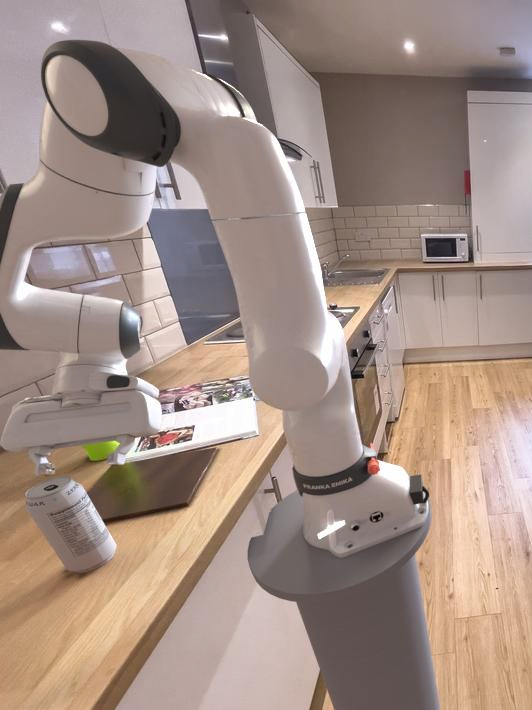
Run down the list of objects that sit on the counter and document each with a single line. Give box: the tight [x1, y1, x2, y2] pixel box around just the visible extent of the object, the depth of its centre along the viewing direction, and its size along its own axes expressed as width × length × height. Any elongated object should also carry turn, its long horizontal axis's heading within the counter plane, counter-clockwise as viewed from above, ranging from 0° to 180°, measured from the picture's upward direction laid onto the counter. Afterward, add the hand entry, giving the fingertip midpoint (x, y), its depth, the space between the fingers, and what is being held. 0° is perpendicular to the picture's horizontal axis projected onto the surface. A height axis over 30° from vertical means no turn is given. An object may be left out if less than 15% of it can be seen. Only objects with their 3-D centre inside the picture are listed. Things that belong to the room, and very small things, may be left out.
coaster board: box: [86, 446, 219, 524], centre depth 83 cm, size 20×20×1 cm
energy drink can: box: [24, 475, 118, 574], centre depth 63 cm, size 6×6×15 cm
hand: (80, 470), depth 66 cm, fingers open, 8 cm apart
